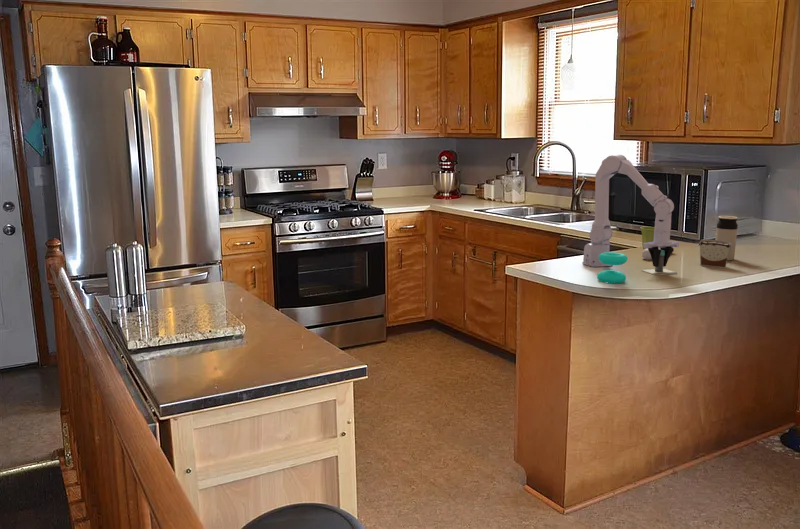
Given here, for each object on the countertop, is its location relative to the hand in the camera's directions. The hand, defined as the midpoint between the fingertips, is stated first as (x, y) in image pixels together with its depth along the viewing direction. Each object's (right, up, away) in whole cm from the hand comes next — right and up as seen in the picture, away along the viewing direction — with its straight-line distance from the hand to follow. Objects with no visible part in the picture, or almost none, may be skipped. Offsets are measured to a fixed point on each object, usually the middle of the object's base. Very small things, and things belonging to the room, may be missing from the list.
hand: (659, 266), depth 274 cm
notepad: (0, -2, +1) cm, 2 cm away
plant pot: (+17, +9, +59) cm, 62 cm away
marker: (0, -2, 0) cm, 2 cm away
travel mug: (+38, +3, +30) cm, 49 cm away
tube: (+12, +4, +35) cm, 37 cm away
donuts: (-23, -6, -16) cm, 28 cm away
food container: (+28, 0, +16) cm, 32 cm away
